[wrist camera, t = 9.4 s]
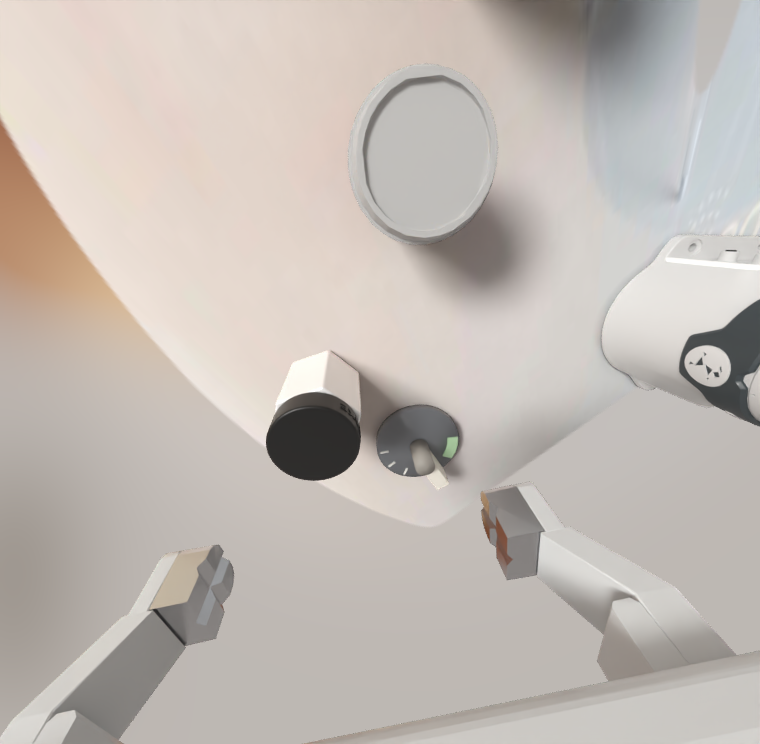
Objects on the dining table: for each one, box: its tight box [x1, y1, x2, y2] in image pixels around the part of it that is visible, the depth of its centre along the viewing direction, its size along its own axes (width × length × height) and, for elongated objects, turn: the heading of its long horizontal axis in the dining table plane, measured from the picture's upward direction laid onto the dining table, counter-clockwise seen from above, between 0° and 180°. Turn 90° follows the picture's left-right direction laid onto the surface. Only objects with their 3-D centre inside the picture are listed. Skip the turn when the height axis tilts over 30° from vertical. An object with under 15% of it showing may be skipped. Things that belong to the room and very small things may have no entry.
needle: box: [410, 439, 449, 491], centre depth 40 cm, size 6×2×4 cm, turn 33°
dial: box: [376, 405, 459, 477], centre depth 42 cm, size 11×11×1 cm
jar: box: [266, 350, 361, 481], centre depth 32 cm, size 9×8×12 cm
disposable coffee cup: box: [348, 64, 498, 245], centre depth 24 cm, size 10×10×12 cm
